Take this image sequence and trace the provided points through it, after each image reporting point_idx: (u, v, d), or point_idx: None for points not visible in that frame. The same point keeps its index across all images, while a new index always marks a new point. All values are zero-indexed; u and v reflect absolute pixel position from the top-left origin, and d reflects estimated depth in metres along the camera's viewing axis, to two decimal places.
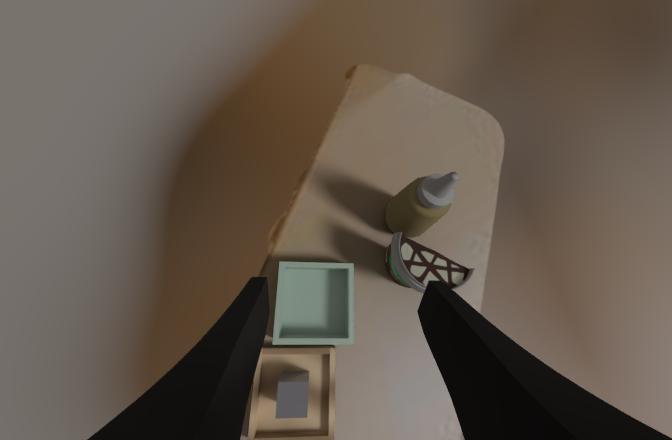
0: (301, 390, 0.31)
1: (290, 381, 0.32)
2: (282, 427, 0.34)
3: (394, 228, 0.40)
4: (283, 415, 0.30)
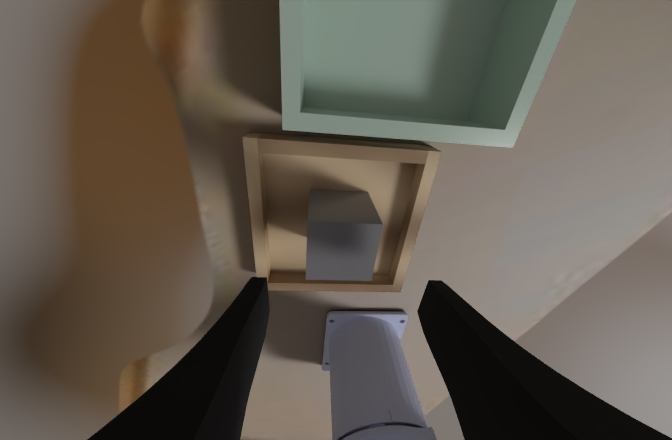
0: (362, 239, 0.13)
1: (337, 220, 0.13)
2: None
3: None
4: (322, 276, 0.14)
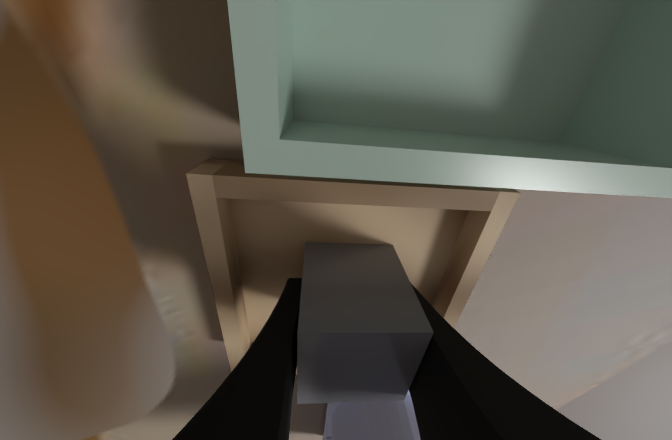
0: (395, 353, 0.07)
1: (351, 327, 0.07)
2: None
3: None
4: (324, 399, 0.09)
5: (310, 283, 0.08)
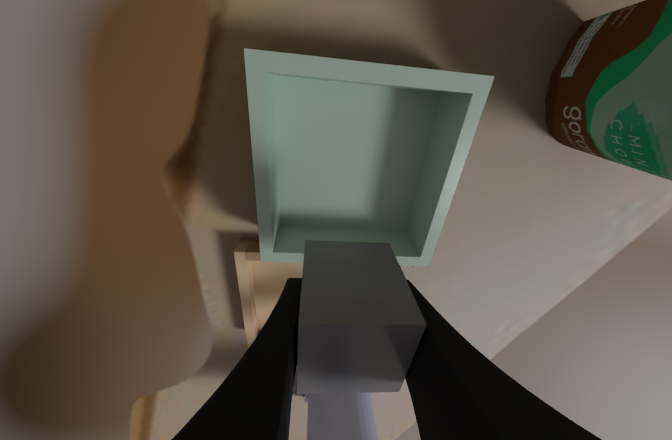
0: (391, 344, 0.08)
1: (349, 319, 0.07)
2: None
3: None
4: (323, 389, 0.09)
5: (310, 279, 0.09)
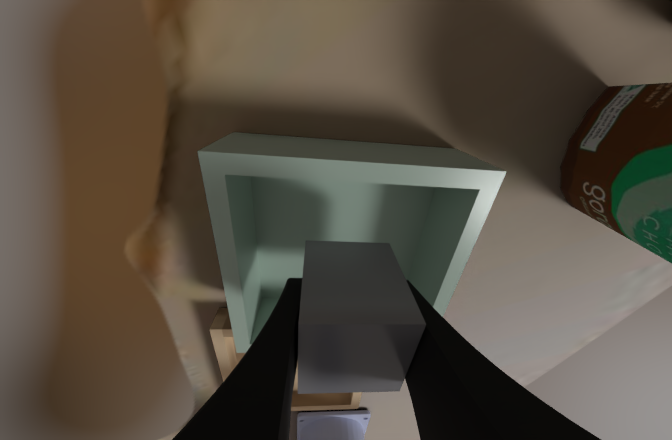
0: (391, 344, 0.08)
1: (349, 319, 0.07)
2: None
3: None
4: (324, 389, 0.09)
5: (310, 279, 0.09)
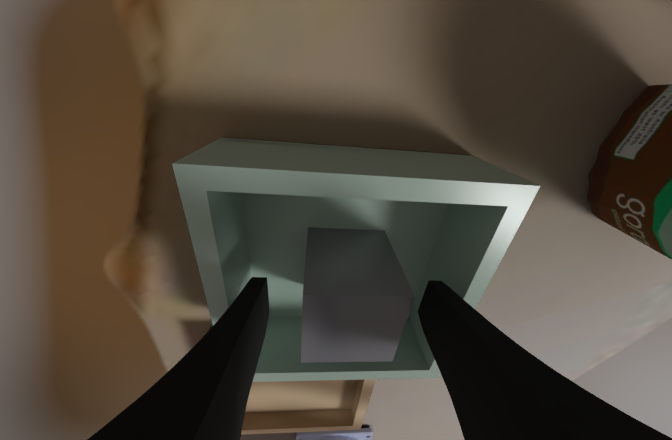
0: (383, 315, 0.09)
1: (347, 291, 0.08)
2: (279, 408, 0.21)
3: None
4: (324, 358, 0.10)
5: (312, 259, 0.10)
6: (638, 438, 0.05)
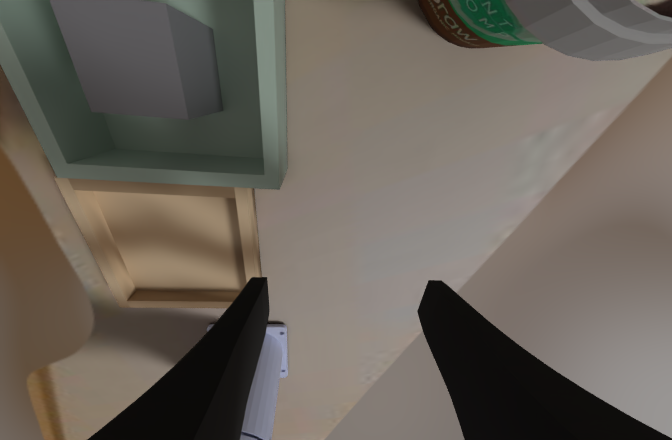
0: (146, 33, 0.09)
1: None
2: (177, 286, 0.21)
3: None
4: (113, 106, 0.10)
5: None
6: (638, 438, 0.05)
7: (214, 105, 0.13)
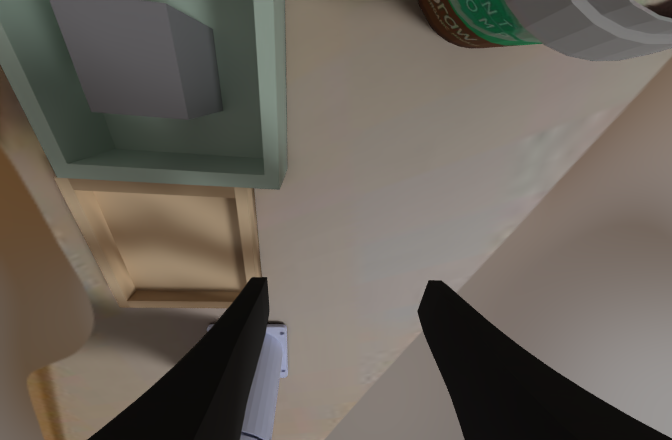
0: (146, 33, 0.09)
1: None
2: (177, 286, 0.21)
3: None
4: (113, 106, 0.10)
5: None
6: (638, 438, 0.05)
7: (214, 105, 0.13)
